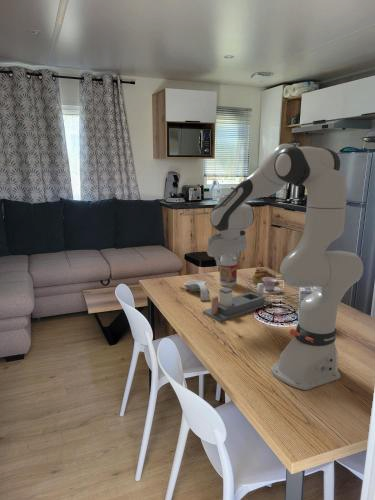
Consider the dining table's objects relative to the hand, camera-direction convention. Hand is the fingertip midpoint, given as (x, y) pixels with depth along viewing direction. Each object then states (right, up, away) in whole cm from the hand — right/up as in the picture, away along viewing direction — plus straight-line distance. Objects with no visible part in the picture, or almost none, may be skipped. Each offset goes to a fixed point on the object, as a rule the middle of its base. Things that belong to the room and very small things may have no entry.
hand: (226, 263), depth 160 cm
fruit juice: (+5, -13, +44) cm, 47 cm away
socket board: (+6, -21, +10) cm, 24 cm away
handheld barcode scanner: (-12, -17, +31) cm, 37 cm away
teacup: (+26, -16, +34) cm, 46 cm away
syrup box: (+33, -25, -4) cm, 41 cm away
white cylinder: (0, -21, +5) cm, 22 cm away
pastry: (+26, -13, +48) cm, 56 cm away
